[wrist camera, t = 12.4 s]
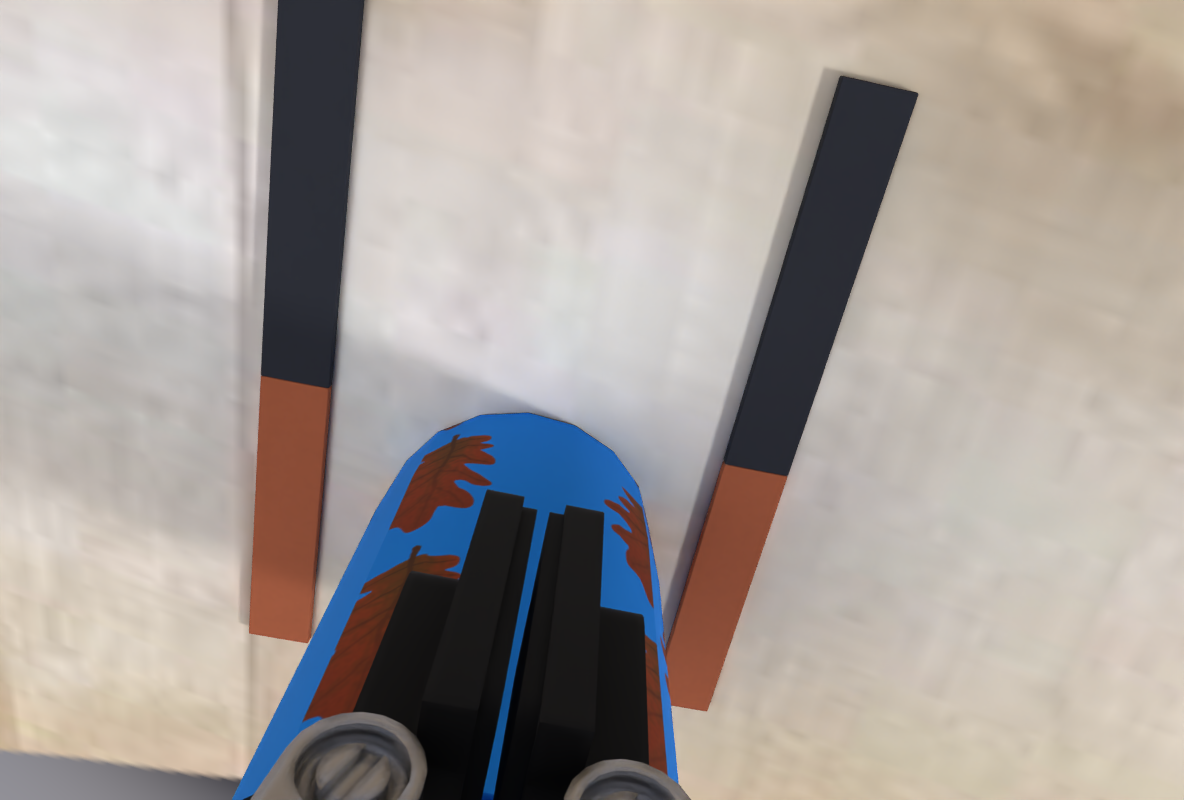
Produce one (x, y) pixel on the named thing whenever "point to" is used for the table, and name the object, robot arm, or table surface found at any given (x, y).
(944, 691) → the table surface
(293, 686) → the thermos
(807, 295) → the lane
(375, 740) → the robot arm
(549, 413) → the table surface
